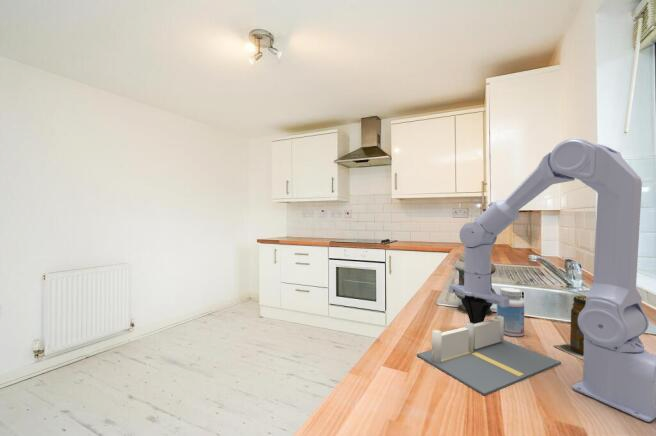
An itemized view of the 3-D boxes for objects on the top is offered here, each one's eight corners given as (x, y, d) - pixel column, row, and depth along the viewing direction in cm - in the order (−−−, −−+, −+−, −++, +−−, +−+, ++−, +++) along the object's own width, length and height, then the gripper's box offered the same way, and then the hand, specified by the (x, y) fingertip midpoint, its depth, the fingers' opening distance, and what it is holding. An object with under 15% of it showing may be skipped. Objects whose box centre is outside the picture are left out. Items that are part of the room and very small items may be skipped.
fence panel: (476, 349, 64) (476, 324, 64) (469, 346, 65) (469, 321, 65) (505, 341, 68) (505, 317, 68) (497, 338, 70) (497, 315, 70)
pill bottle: (528, 338, 72) (529, 293, 72) (501, 336, 73) (502, 291, 73) (517, 329, 78) (518, 287, 78) (493, 327, 79) (493, 286, 79)
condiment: (617, 358, 63) (618, 302, 62) (587, 362, 61) (588, 304, 61) (581, 343, 70) (582, 293, 70) (552, 346, 68) (553, 295, 68)
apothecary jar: (468, 303, 102) (469, 251, 102) (503, 312, 92) (504, 255, 92) (446, 308, 96) (447, 253, 96) (482, 319, 85) (483, 258, 85)
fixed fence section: (468, 348, 65) (468, 321, 65) (475, 351, 64) (475, 324, 64) (429, 359, 60) (430, 330, 60) (436, 363, 58) (437, 333, 58)
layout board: (560, 363, 60) (561, 361, 60) (484, 395, 48) (484, 392, 48) (489, 335, 73) (489, 333, 73) (416, 355, 62) (416, 353, 62)
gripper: (441, 268, 75) (440, 321, 75) (495, 280, 62) (495, 343, 62) (460, 267, 78) (459, 317, 78) (515, 277, 66) (514, 337, 66)
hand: (476, 328), depth 71 cm, fingers closed
